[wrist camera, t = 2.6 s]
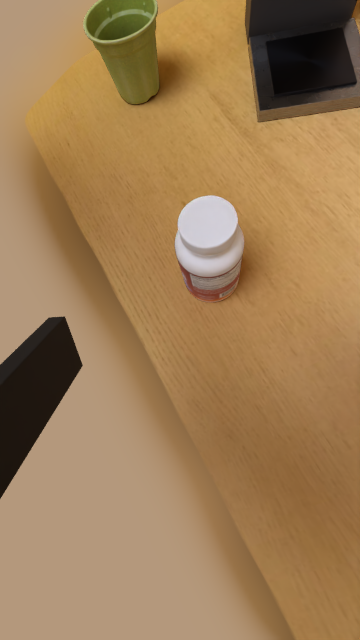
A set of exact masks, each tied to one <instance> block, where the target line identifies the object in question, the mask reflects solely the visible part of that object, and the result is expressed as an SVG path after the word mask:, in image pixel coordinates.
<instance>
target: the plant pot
mask: <svg viewBox="0 0 360 640" xmlns="http://www.w3.org/2000/svg"><path fill="white" fill-rule="evenodd" d="M157 13H158V6H157V1H156V0H99V1H98V2H96V3H95V4H94V5H93V6H92V7H91V8H90V9H89V11H88V12H87V14H86V16H85V19H84V23H83V25H84V26H83V27H84V31H85V33H86V35H87V37H88V38H89V39H90V40H91V41H93V43H94V45H95V47H96V48H97V50H98V51H99V52H100V54H101V56H102V58H103V60H104V62H105V64H106V66H107V68H108V70H109V72H110V74H111V76H112V78H113V81H114V83H115V85H116V87H117V89H118V91H119V93H120V95H121V97H122V98H123V99H124V100H125V101H126V102H128V103H130V104H140V103H144V102H146V101H148V99H149V98H150V97H151V96H153V95H156V93H157V92H158V90H159V86H160V84H159V72H158V61H157V49H156V37H155V30H156V17H157Z"/></svg>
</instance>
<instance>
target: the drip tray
mask: <svg viewBox="0 0 360 640" xmlns="http://www.w3.org/2000/svg"><path fill="white" fill-rule="evenodd" d="M248 50H249V58H250V65H251V73H252V81H253V88H254V96H255V103H256V111H257V118H258V122H262V121H269V120H276V119H282V118H289V117H296V116H303V115H309V114H316V113H323V112H329V111H336V110H343V109H350V108H356V107H360V35H359V31H358V28H357V25H356V21H355V18H349V19H344V20H338V21H333V22H328V23H322V24H317V25H312V26H307V27H301V28H296V29H291V30H285V31H280V32H275V33H269V34H264V35H259V36H253V37H249V48H248Z"/></svg>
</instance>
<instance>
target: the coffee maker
mask: <svg viewBox="0 0 360 640" xmlns="http://www.w3.org/2000/svg"><path fill="white" fill-rule="evenodd" d="M356 2H357V0H246V12H245V27H246V35H247V42H248V44H249V37H253V36H259V35H264V34H269V33H275V32H280V31H285V30H291V29H296V28H301V27H307V26H312V25H317V24H322V23H328V22H333V21H338V20H344V19H349V18H351V16H352V13H353V10H354V8H355V5H356Z"/></svg>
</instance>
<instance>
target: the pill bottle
mask: <svg viewBox="0 0 360 640" xmlns="http://www.w3.org/2000/svg"><path fill="white" fill-rule="evenodd" d="M243 250H244V236H243V232H242V230H241V228H240V226H239V224H238V217H237V213H236V210H235V208H234V207H233V206H232V204H231V203H229V202H228V201H227V200H225V199H223V198H221V197H217V196H202V197H199V198H196V199H194V200H192V201H191V202H189V203H188V204H187V205H186V206H185V207H184V208H183V209H182V211H181V213H180V215H179V218H178V232H177V234H176V238H175V252H176V256H177V259H178V262H179V265H180V269H181V272H182V275H183V278H184V281H185V284H186V287H187V289H188V290H189V292H190V293H191V294H192V295H193V296H194V297H195V298H197V299H199V300H201V301H204V302H217V301H221V300H223V299H225V298H227V297H228V296H230V295H231V294H232V293H233V291H234V290H235V289H236V287H237V284H238V281H239V275H240V268H241V262H242V256H243Z"/></svg>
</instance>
